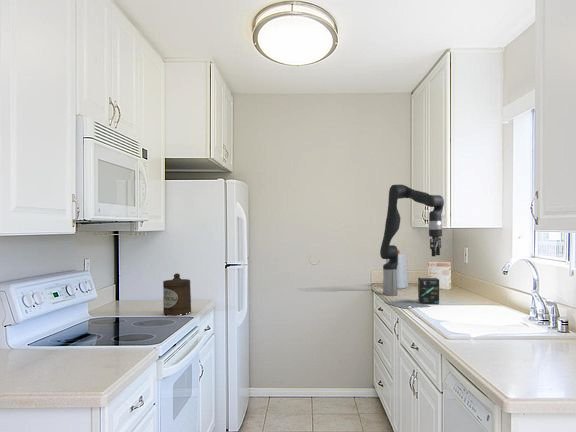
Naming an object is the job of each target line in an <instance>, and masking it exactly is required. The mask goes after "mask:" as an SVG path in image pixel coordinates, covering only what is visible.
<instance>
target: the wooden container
mask: <svg viewBox="0 0 576 432" xmlns="http://www.w3.org/2000/svg"><path fill="white" fill-rule="evenodd" d="M180 276H181V274H179V273H174V274H173V278H172V279H167V280H163V281H162V287H163V289H162V291H163V297H162V301H163V302H162V304H163V305H162V306H163V310H162V311H163V315H164V314H167V315H180V314H186V313H189V312H191V313H192V293H191V279H185V278H181V277H180ZM167 315H166V316H167Z"/></svg>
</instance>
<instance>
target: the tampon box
mask: <svg viewBox="0 0 576 432" xmlns="http://www.w3.org/2000/svg"><path fill="white" fill-rule="evenodd" d="M417 280H418V281H417V282H418V283H417V284H418V285H417V295H418V297H417V298H418V301H417V302H418V303H421V304H424V305H439V304H440V289H439V279H437V278H428V277H418V278H417Z"/></svg>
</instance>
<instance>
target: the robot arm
mask: <svg viewBox="0 0 576 432" xmlns="http://www.w3.org/2000/svg"><path fill="white" fill-rule="evenodd" d="M398 199H399V200H400V199H411V200H412V201H414V202H416V203H419V204H422V205H425V206H426V207H429V208H433V210H432V211H430V212H429V213H428V214H429V215H428V220H429V221H428V237H431V238H430V239H429V250H431V257H436V256H440V254H441V248H442V238H441V237H442V236H443V223H442V212H443V209H444V205H445V200H444V197H443V195H440V194H436V195H435V194H430V193H428V192H424V191H420V190H418V189H417V190H416V189H413V188H411V187H409V186H408V185H404V184H392V185H391V186H390V187H389V190H388V200H387V201H388V202H387V203H388V205H387V212H386V218H385V219H386V220H385V224H384V231H383V239H382V242H381V246H380V250H379V254H380V255H379V256H380V257H381V259H382V260H386V259H389V262H388V263H386V262H385V263H384V264H383V265H382V268H383V269H382V273H383V274H382V279H383V280H382V294H383V295H384V296H397V295H398V289H397V265H398V250H399V249H398V247H397V246H396V245H395V244H391V241H392V239H393V238H394V237H395V235H396V234H397V232H398V231H399V229H400V224H401V215H400V212H399V210H398Z"/></svg>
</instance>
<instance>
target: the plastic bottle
mask: <svg viewBox="0 0 576 432" xmlns="http://www.w3.org/2000/svg"><path fill="white" fill-rule="evenodd" d="M406 257H407V256H406V254H404V253H401V251H400V250H399V249H398V265H397V290H403V289H407V288H408V287H409V282H408V272H407V271H408V269H407V259H406ZM388 262H389V259H385V264H386V263H388Z"/></svg>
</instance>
